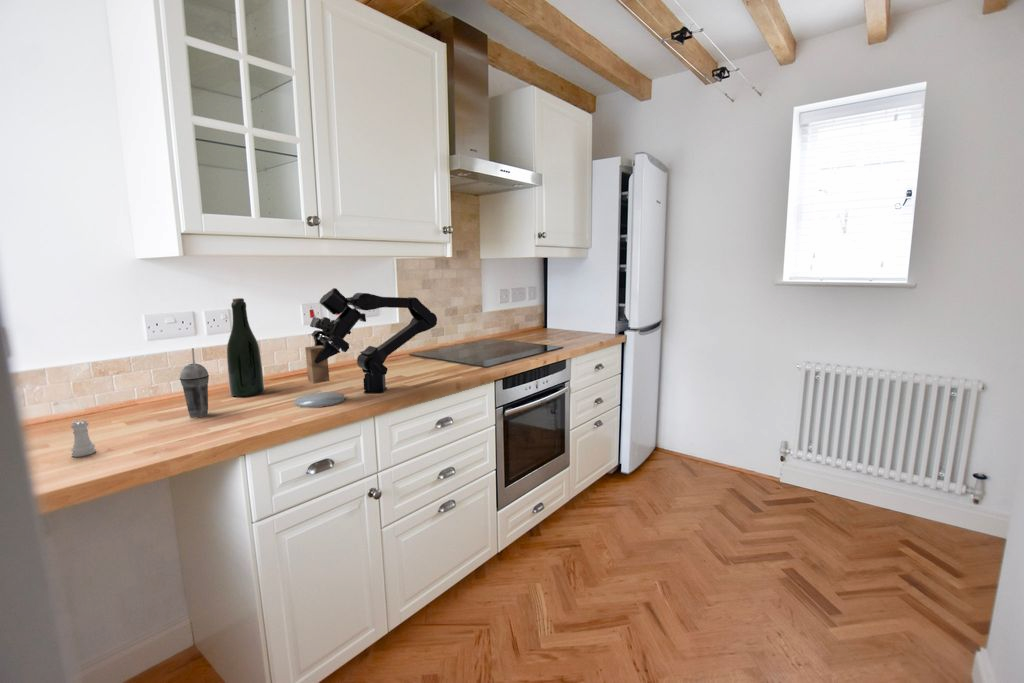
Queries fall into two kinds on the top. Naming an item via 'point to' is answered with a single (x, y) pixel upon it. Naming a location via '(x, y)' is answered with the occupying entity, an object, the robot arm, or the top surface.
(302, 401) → the slate dish
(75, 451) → the rook chess piece
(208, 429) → the top surface
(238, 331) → the beer bottle
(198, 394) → the beverage cup
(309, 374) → the walnut block
